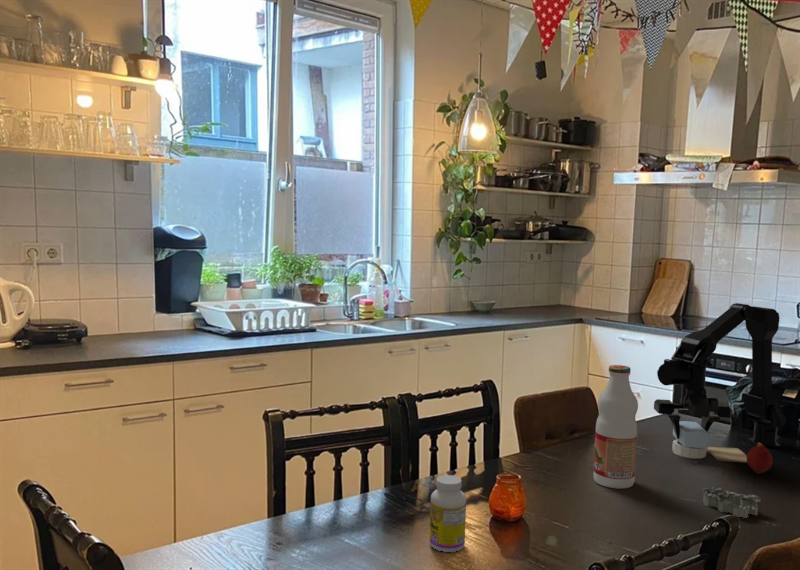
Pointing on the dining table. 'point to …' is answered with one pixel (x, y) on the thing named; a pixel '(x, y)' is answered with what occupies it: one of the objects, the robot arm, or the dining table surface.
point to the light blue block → (692, 435)
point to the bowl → (688, 451)
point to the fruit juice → (616, 432)
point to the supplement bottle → (447, 515)
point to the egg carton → (731, 502)
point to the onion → (759, 459)
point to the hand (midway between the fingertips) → (689, 439)
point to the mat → (727, 454)
